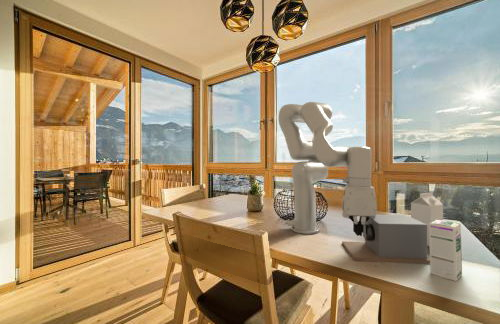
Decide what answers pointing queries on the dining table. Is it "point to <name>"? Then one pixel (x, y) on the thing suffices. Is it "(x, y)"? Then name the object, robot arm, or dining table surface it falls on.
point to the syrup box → (445, 249)
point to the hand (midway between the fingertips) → (358, 234)
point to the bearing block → (392, 241)
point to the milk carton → (427, 210)
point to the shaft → (369, 232)
